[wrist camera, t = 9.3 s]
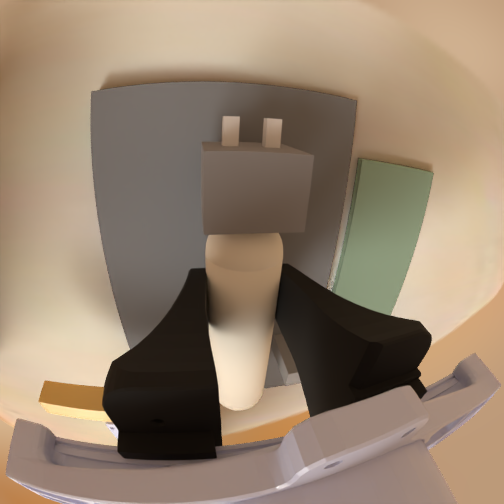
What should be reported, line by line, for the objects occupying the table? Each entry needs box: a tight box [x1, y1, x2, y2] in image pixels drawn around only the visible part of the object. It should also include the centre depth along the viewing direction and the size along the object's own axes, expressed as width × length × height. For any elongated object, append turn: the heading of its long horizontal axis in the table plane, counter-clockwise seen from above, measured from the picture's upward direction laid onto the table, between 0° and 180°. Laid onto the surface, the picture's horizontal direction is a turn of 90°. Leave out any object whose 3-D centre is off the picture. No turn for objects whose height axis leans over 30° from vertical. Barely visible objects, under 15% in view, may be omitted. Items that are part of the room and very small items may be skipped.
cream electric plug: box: [201, 116, 314, 411], centre depth 12 cm, size 16×3×3 cm, turn 177°
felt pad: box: [332, 158, 434, 315], centre depth 17 cm, size 16×6×1 cm, turn 176°
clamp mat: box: [91, 82, 357, 388], centre depth 13 cm, size 20×12×4 cm, turn 176°
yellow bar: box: [38, 381, 112, 422], centre depth 11 cm, size 2×8×2 cm, turn 87°
